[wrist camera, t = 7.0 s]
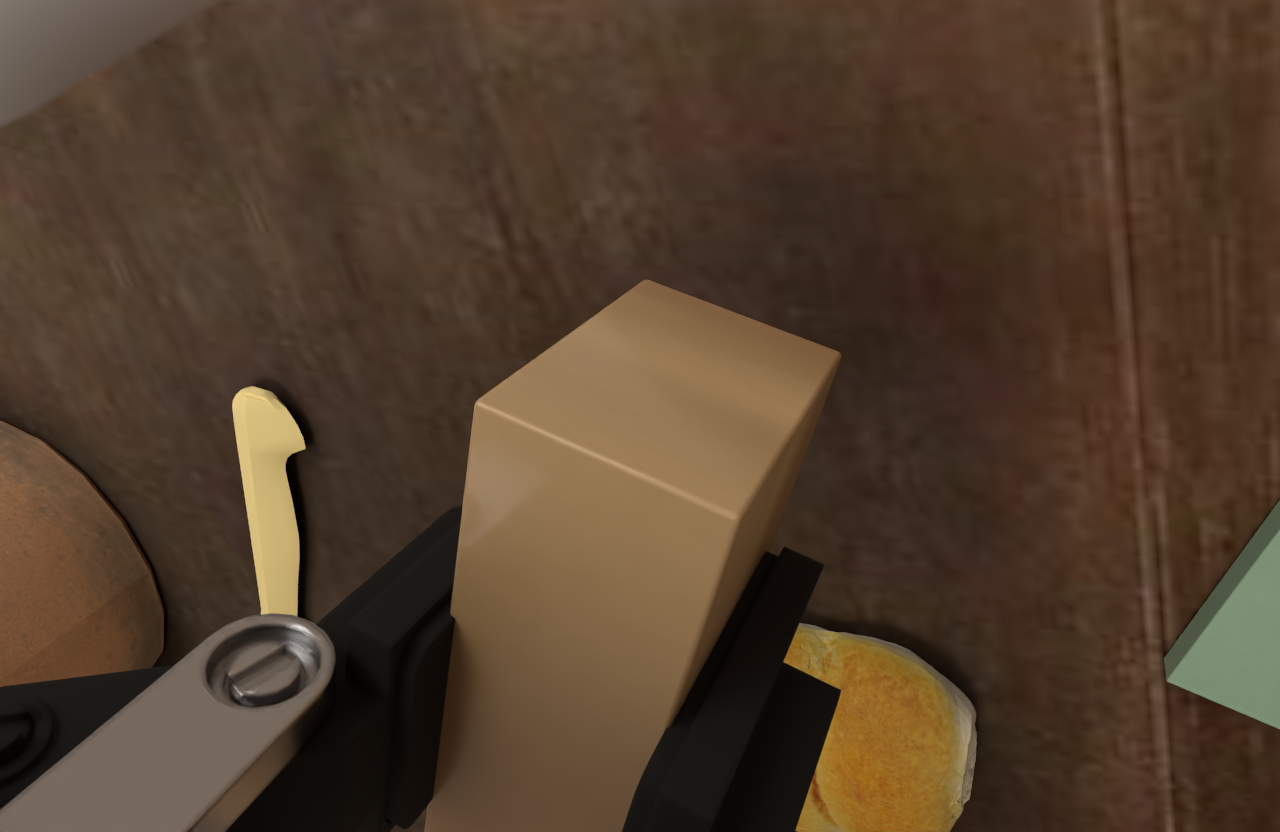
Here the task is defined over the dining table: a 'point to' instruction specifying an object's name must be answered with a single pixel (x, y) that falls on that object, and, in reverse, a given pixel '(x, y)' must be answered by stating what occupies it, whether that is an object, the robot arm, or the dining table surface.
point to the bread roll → (885, 738)
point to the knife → (269, 494)
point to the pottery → (68, 573)
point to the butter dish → (1238, 634)
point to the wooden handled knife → (610, 550)
